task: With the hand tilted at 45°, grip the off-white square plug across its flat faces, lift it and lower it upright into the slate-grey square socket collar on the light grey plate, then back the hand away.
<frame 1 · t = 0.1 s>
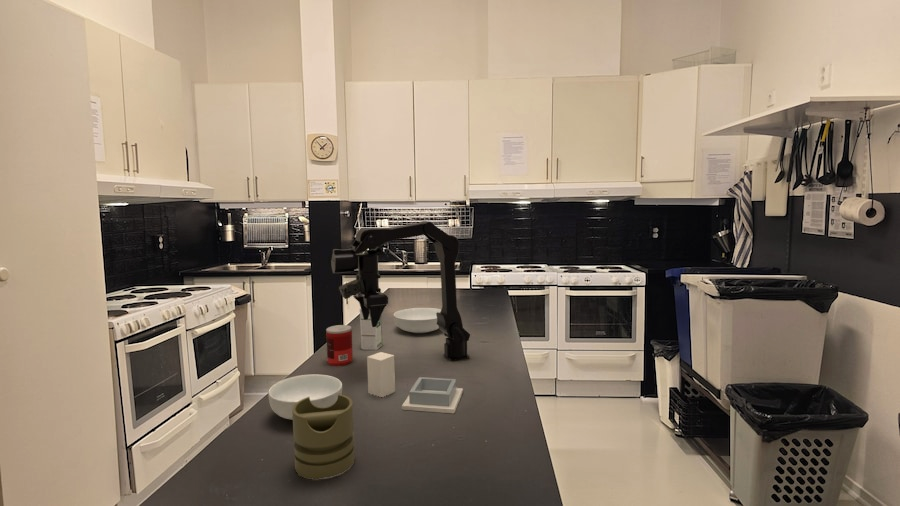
hand: (369, 323, 145), 15 cm above the countertop, tool pointing down, fingers open, 9 cm apart
syrup box: (371, 348, 169), on the countertop
serving bowl: (420, 330, 190), on the countertop
canned food: (340, 362, 155), on the countertop
cereal bowl: (307, 415, 118), on the countertop
plug: (381, 392, 130), on the countertop
socket: (433, 400, 125), on the countertop
piston: (325, 464, 96), on the countertop
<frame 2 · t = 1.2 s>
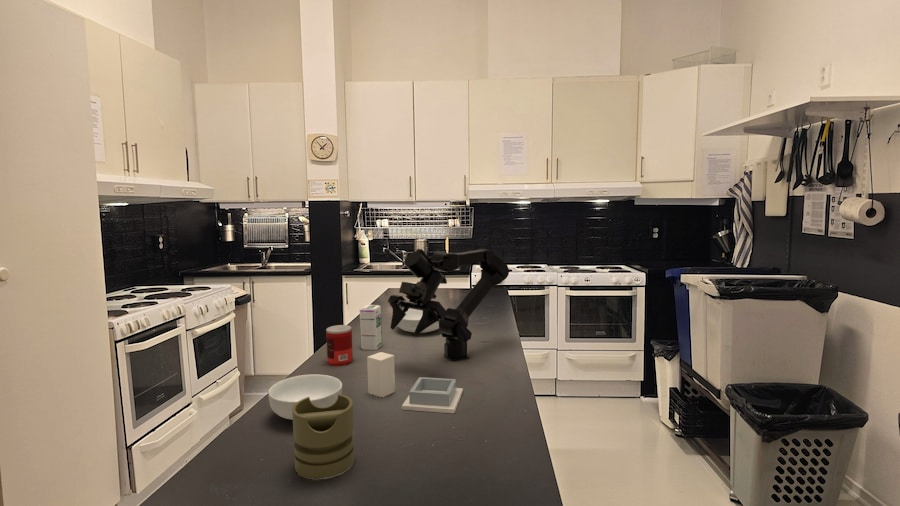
hand: (403, 331, 139), 14 cm above the countertop, tool tilted 45°, fingers open, 9 cm apart
nothing on the countertop moved.
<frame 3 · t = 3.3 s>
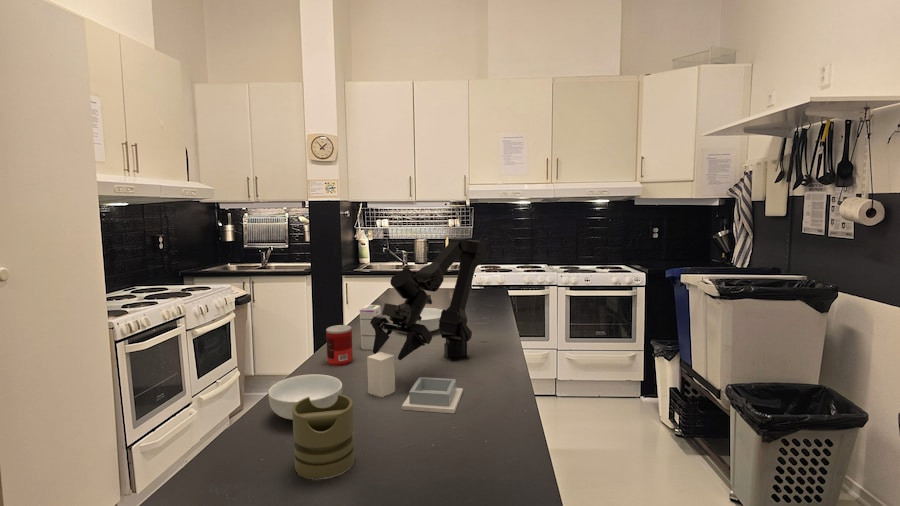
hand: (386, 356, 131), 9 cm above the countertop, tool tilted 45°, fingers open, 9 cm apart
nothing on the countertop moved.
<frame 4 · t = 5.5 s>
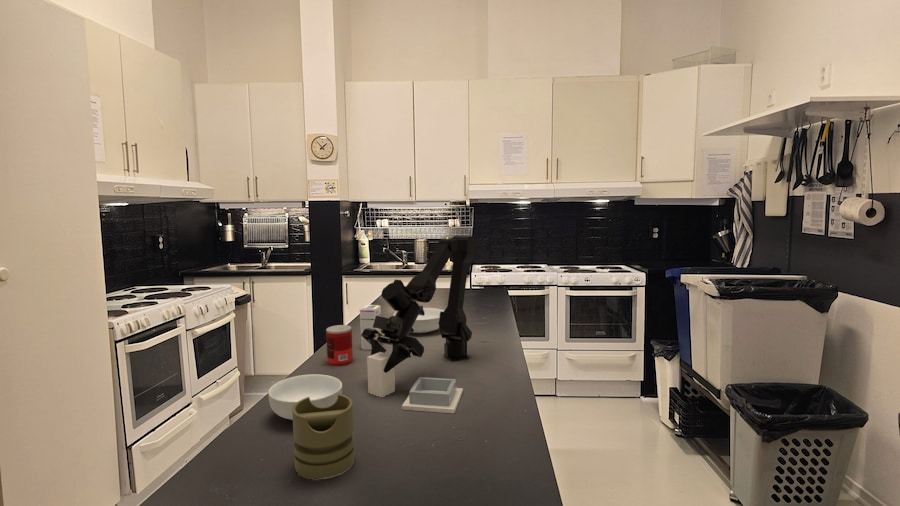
hand: (377, 369, 128), 7 cm above the countertop, tool tilted 45°, fingers closed on plug, 5 cm apart
plug: (381, 392, 130), on the countertop, touching gripper
everything else where it was.
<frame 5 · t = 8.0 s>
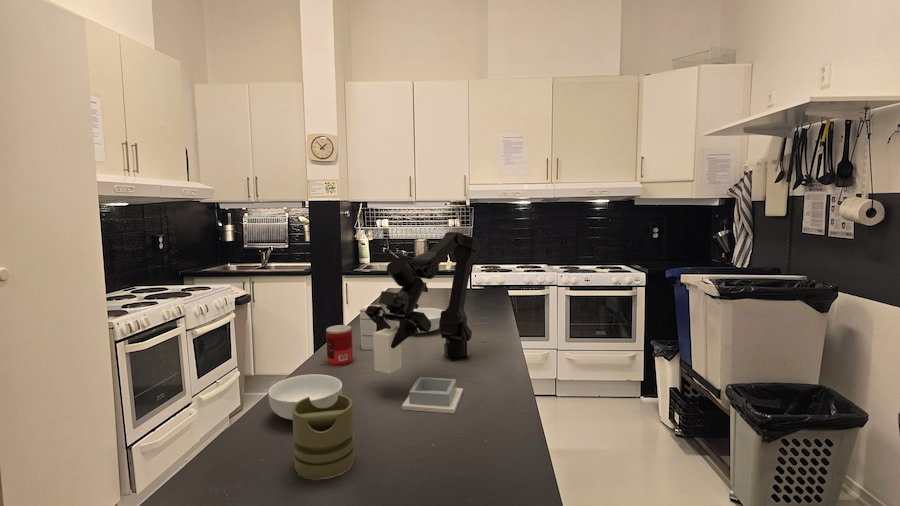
hand: (383, 346, 126), 13 cm above the countertop, tool tilted 45°, fingers closed on plug, 5 cm apart
plug: (388, 369, 128), point 7 cm above the countertop, touching gripper
everything else where it was.
when the fingers open (9 cm above the countertop, at t = 10.8 s): plug drops 1 cm, resting on socket.
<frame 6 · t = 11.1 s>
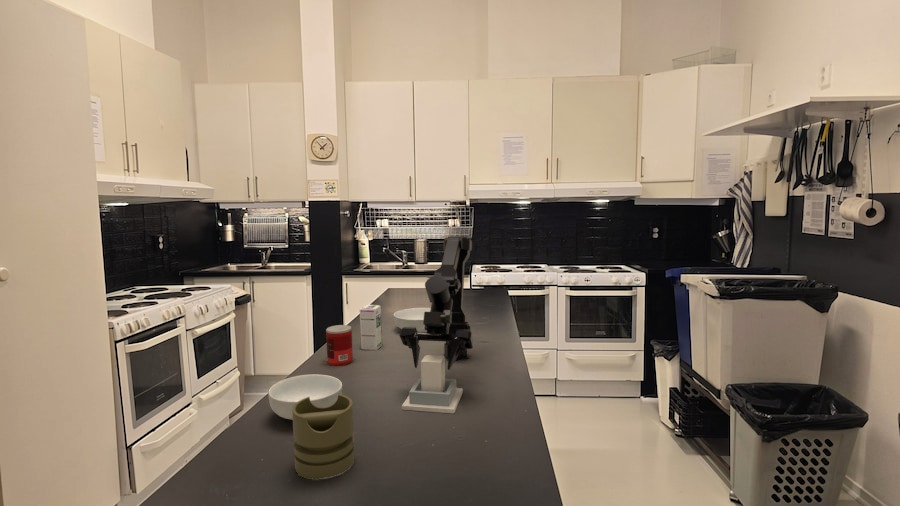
hand: (431, 368, 122), 9 cm above the countertop, tool tilted 45°, fingers open, 8 cm apart
plug: (433, 396, 125), point 1 cm above the countertop, touching socket
everything else where it was.
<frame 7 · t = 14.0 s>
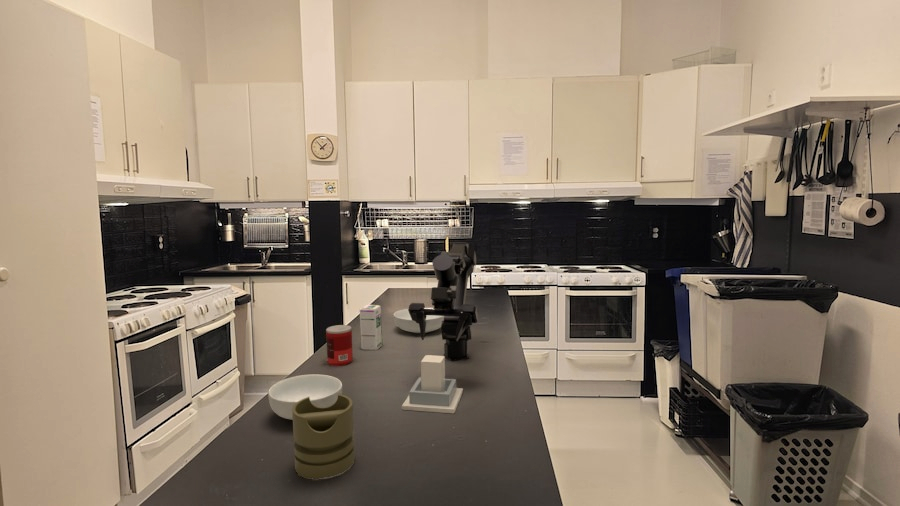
hand: (439, 340, 131), 14 cm above the countertop, tool tilted 45°, fingers open, 9 cm apart
nothing on the countertop moved.
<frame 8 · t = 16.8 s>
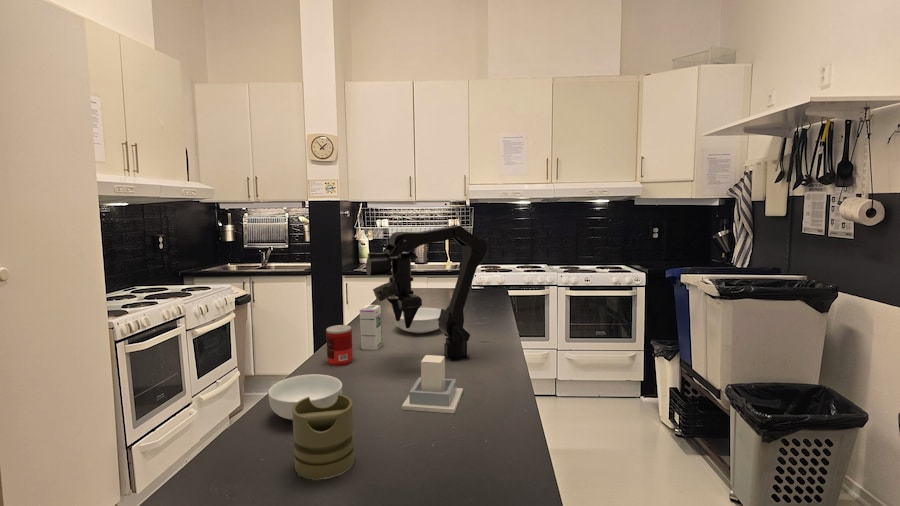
hand: (402, 324, 149), 13 cm above the countertop, tool pointing down, fingers open, 9 cm apart
nothing on the countertop moved.
at the end: plug 0.0 cm off-centre on the socket, point 1.0 cm above the socket's base; plug tilted 0°; the gripper is holding nothing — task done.
